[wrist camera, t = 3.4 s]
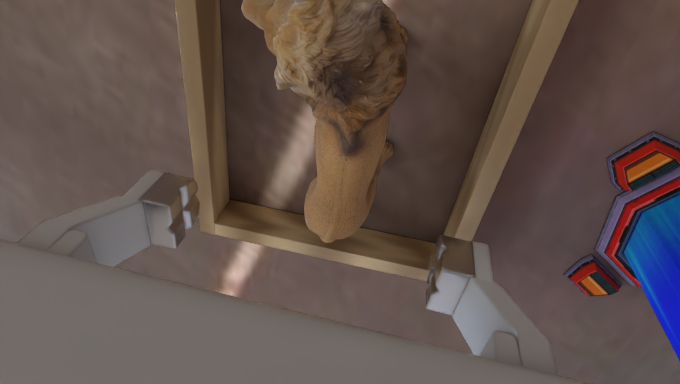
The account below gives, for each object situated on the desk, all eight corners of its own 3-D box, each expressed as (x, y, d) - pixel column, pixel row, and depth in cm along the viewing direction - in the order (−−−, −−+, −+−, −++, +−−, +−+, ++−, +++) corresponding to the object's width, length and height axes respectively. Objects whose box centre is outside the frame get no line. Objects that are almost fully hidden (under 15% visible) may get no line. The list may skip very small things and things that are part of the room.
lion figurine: (291, -57, 18) (199, -17, 11) (415, -65, 17) (403, -27, 10) (323, 209, 27) (282, 327, 20) (407, 213, 26) (397, 340, 19)
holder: (216, 207, 28) (199, 231, 26) (186, -187, 16) (151, -197, 14) (450, 258, 27) (451, 287, 25) (608, -123, 15) (635, -124, 13)
